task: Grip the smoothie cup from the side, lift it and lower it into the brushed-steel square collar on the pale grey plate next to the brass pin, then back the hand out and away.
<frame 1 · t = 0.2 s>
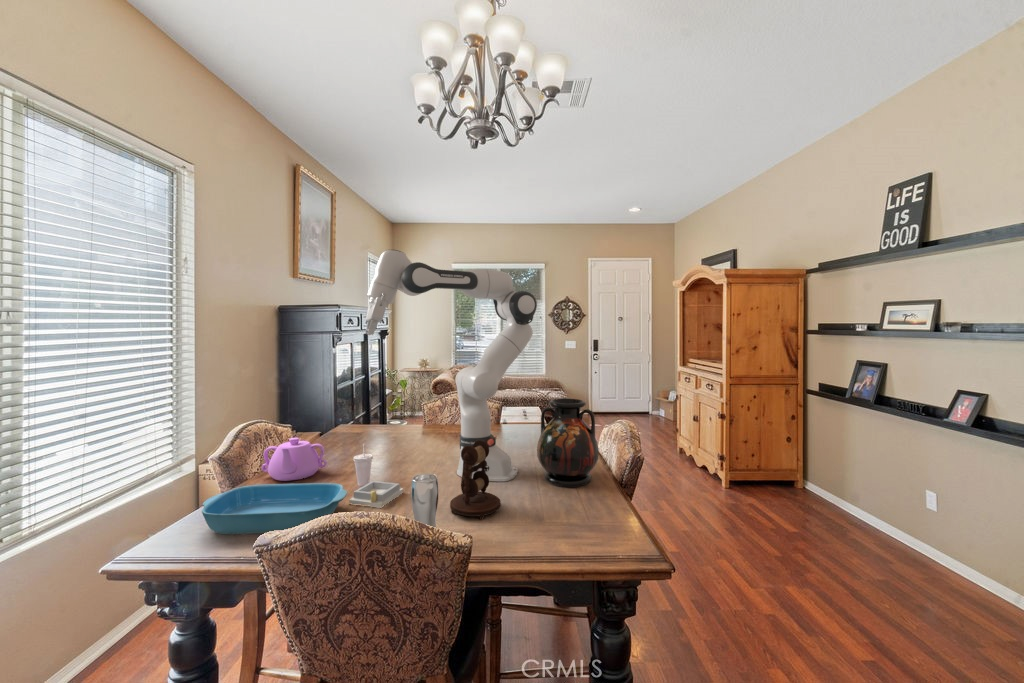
hand: (368, 334, 146), 52 cm above the table, tool tilted 20°, fingers open, 8 cm apart
smoothie: (363, 484, 150), on the table
collar plate: (377, 498, 137), on the table
casserole dish: (278, 521, 122), on the table
teapot: (293, 478, 157), on the table
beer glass: (425, 535, 113), on the table
brown spool stand: (475, 511, 128), on the table
amphora vase: (567, 480, 154), on the table
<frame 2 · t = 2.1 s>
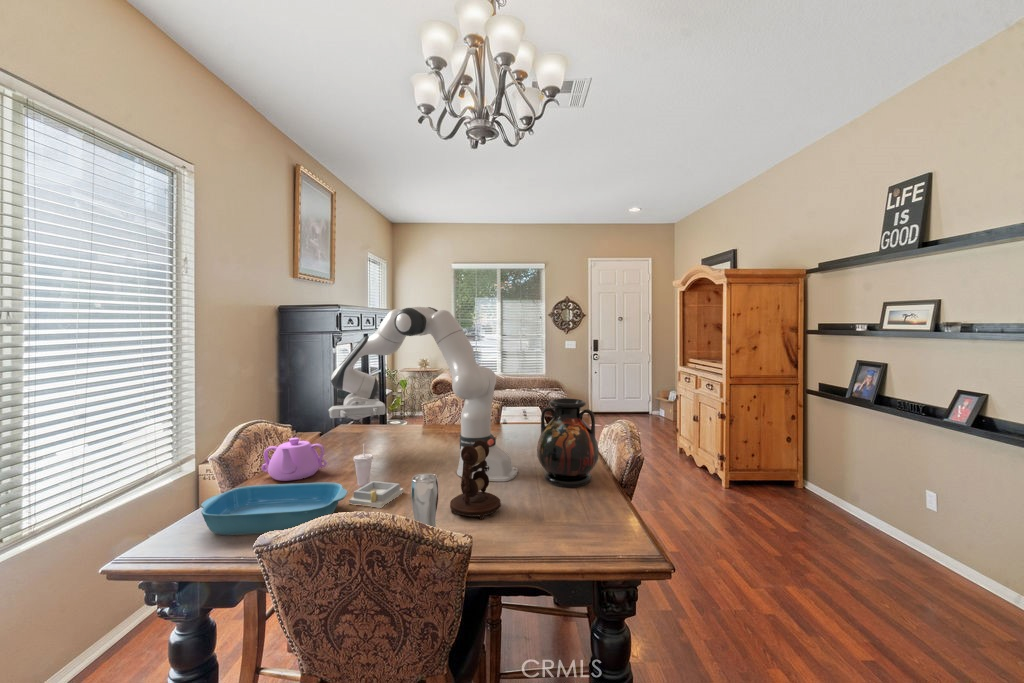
hand: (359, 414, 161), 22 cm above the table, tool horizontal, fingers open, 8 cm apart
nothing on the table moved.
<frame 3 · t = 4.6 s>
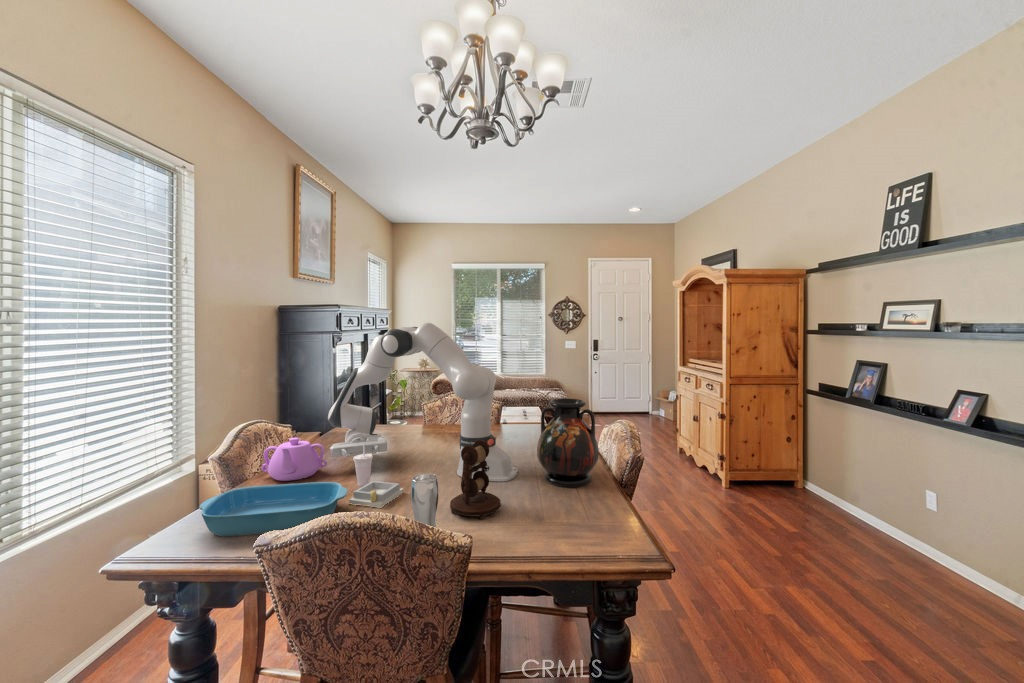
hand: (361, 453, 159), 8 cm above the table, tool horizontal, fingers open, 8 cm apart
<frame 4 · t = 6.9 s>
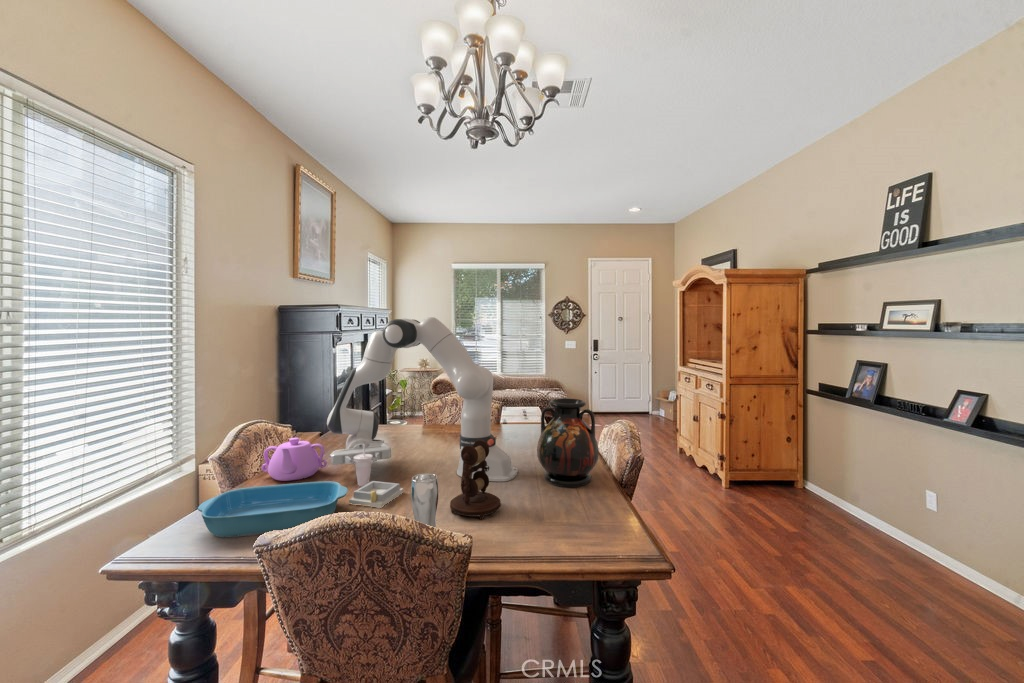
hand: (363, 460, 149), 8 cm above the table, tool horizontal, fingers closed on smoothie, 6 cm apart
smoothie: (363, 484, 150), on the table, touching gripper
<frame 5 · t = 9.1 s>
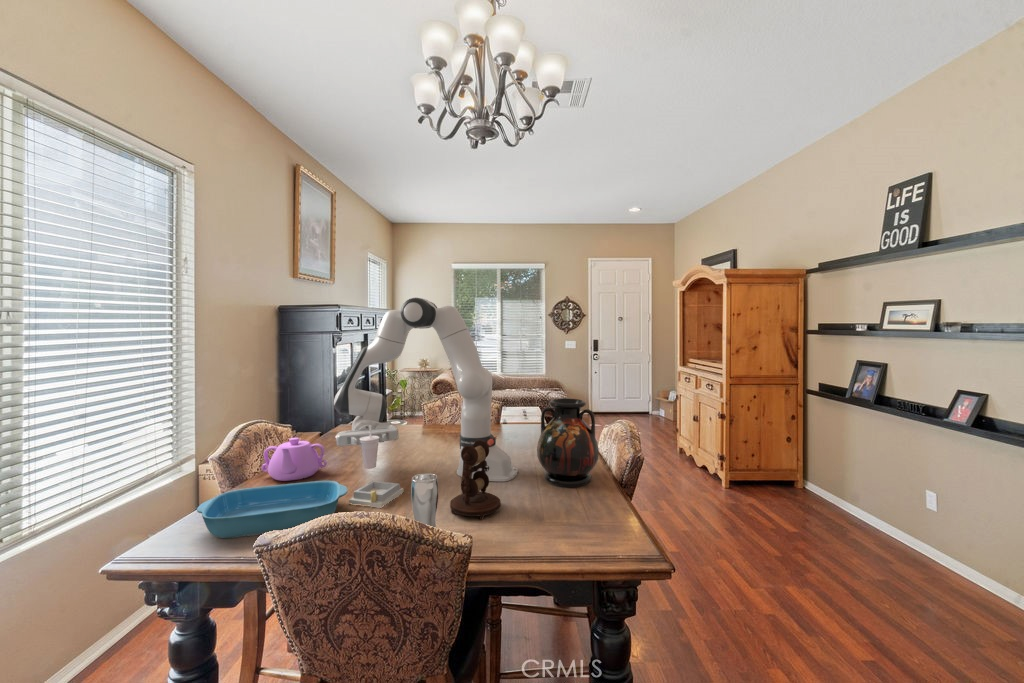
hand: (369, 441, 143), 17 cm above the table, tool horizontal, fingers closed on smoothie, 6 cm apart
smoothie: (370, 467, 144), point 8 cm above the table, touching gripper
when the fingers open (11 cm above the table, at t = 11.6 s): smoothie stays where it is, resting on collar plate.
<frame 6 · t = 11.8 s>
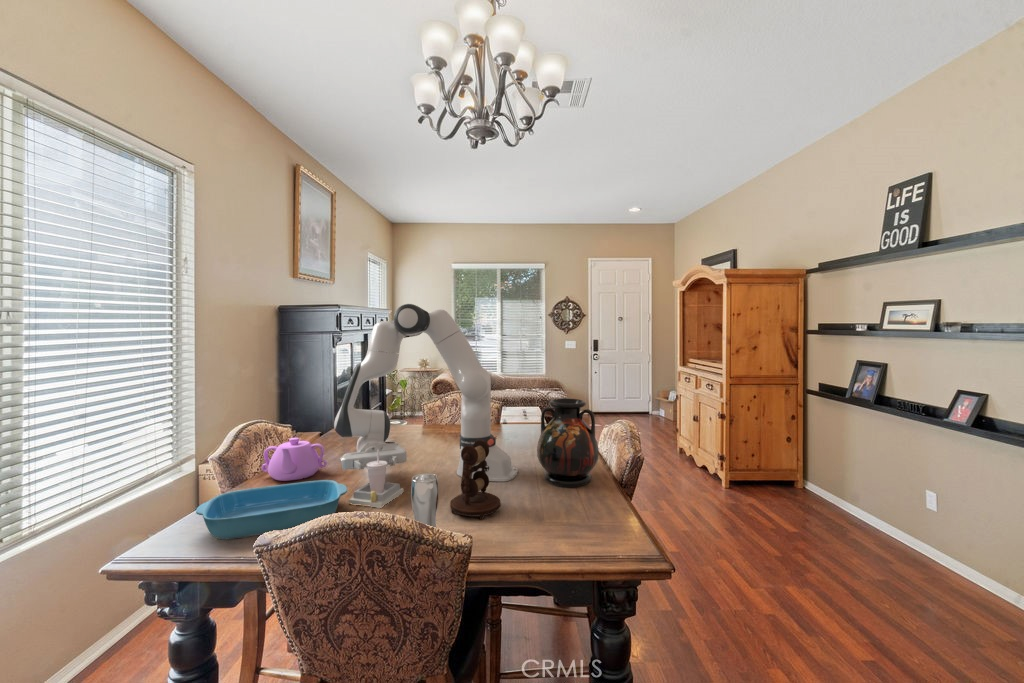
hand: (377, 465, 136), 11 cm above the table, tool horizontal, fingers open, 8 cm apart
smoothie: (377, 494, 137), point 1 cm above the table, touching collar plate
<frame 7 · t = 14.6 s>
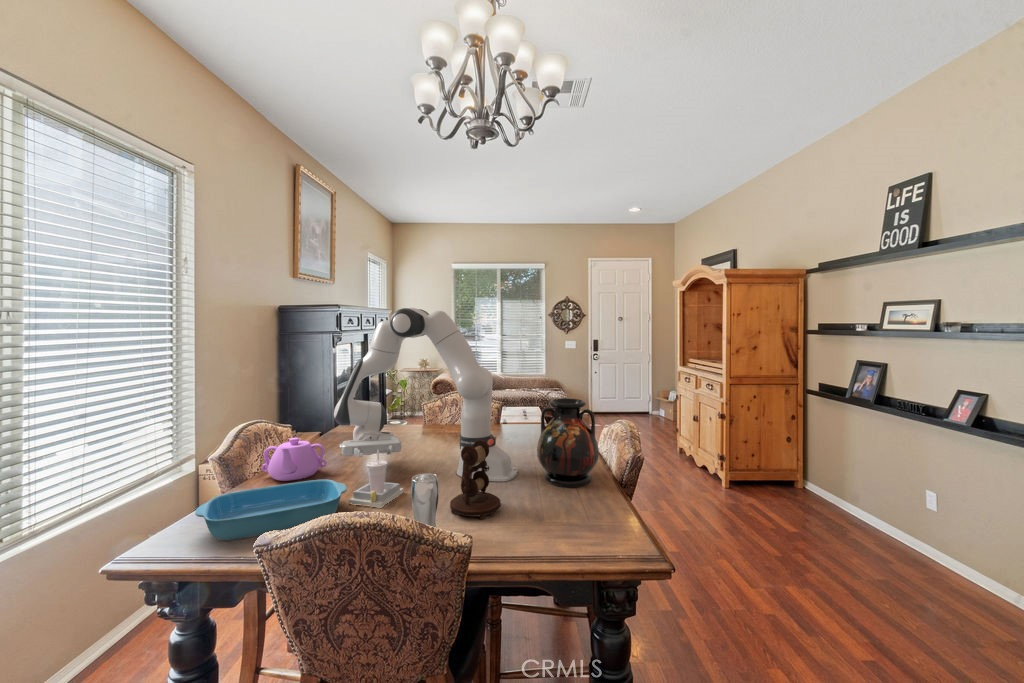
hand: (375, 453, 149), 11 cm above the table, tool horizontal, fingers open, 8 cm apart
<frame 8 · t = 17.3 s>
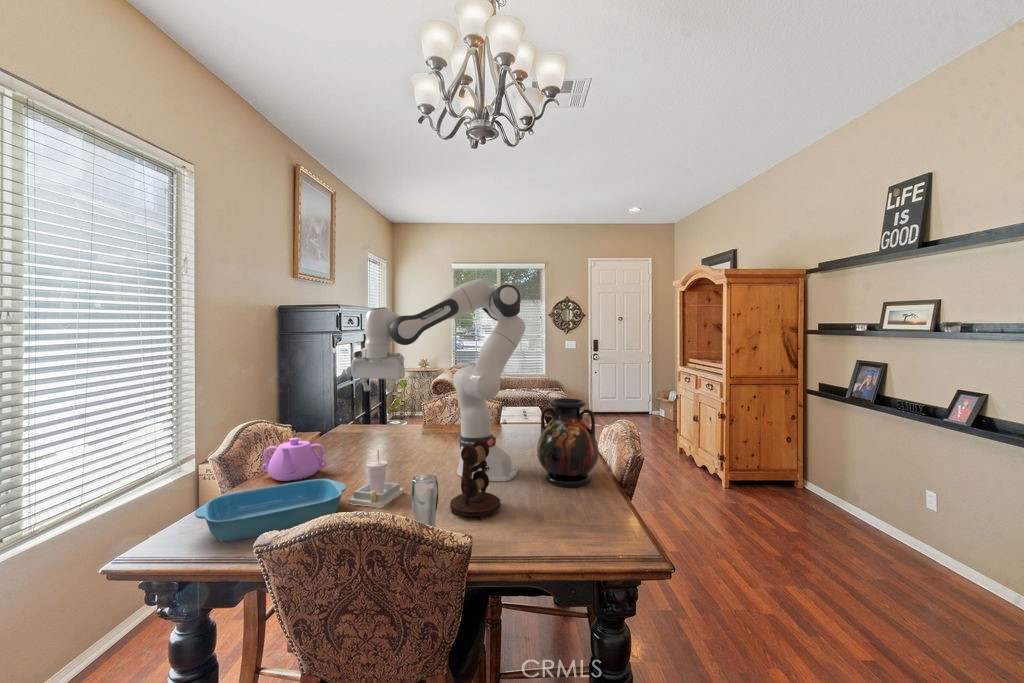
hand: (378, 391, 157), 31 cm above the table, tool pointing down, fingers open, 8 cm apart
at the end: smoothie 0.0 cm off-centre on the collar plate, point 1.3 cm above the collar plate's base; smoothie tilted 0°; the gripper is holding nothing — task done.
